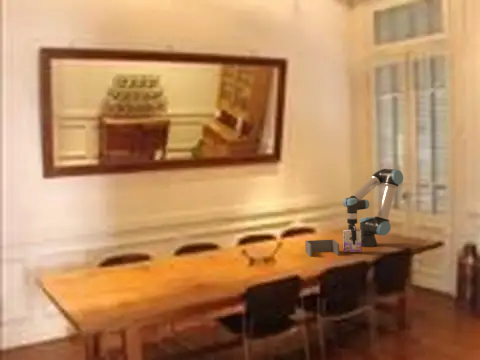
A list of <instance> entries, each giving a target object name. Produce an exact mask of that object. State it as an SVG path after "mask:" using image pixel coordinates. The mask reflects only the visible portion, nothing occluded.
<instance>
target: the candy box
mask: <svg viewBox="0 0 480 360" xmlns="http://www.w3.org/2000/svg"><path fill="white" fill-rule="evenodd" d="M356 239H357V240H356V249H352V241H351V240H352V232H351V230H348V229H342V241H343V243H342V244H343V245H342V246H343V247H342V250H343V252H346V253H347V252H362V251H363V249H362V247H363V246H362V239H361V229H360V228H359V229H356Z"/></svg>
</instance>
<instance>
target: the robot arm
mask: <svg viewBox="0 0 480 360" xmlns="http://www.w3.org/2000/svg"><path fill="white" fill-rule="evenodd" d="M403 181H404V174H403V172H402V171H401V170H400V169H395V168H394V169H391V168H382V169H380V170H378V171H376V172H374V173H373V174H372V175H370V178H369V179H368V180H367V181H366V182H365V183H363V185H361V186H360V187H359V188H358V190H356V191H355V192H354V193H352V194H351V195H350V196H349V197H345V198H344V199H343V200H342V205H343V206H344V207H345V208H347V210H346V217H347V219H346V221H347V222H346V223H347V224H348V226H347V227H348V229H347V230H351V232H352V240H351V241H352V249H356V240H357V239H356V230H357V227H356V224H358V211H359V210H360V211H362V210H367V209H369V207H370V201H369V200H368V199H364V198H365V197H366V196H367V195H368V194H369V193H370V192H371V191H372V190H374V189H375V188H376V187H377V186H380V185H382V184H383V186H384V188H383V191H382V192H383V193H382V195H381V200H380V203H379V208H378V212H377V214H376V215H375V216H366V217H364V216H363V217H361V218H360V221H359V230H360V229H361V239H362V247H363V246H365V248H366V247H367V248H371V247H370V246H373V247H376V246H375V245H378V242H377V239H376V235H378V236H386V235H388V234H389V232H390V231H391V228H392V227H391V223H390V219H389V215H390V212H391V207H392V203H393V200H394V195H395V192H396V190H397V189H398V188H399V185H401V184H402V183H403Z"/></svg>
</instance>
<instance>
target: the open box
mask: <svg viewBox="0 0 480 360" xmlns="http://www.w3.org/2000/svg"><path fill="white" fill-rule="evenodd" d="M304 244H305V247H304V248H305V253H306V254H307V255H308V256H309V258H310V257H311V258H312V257H313V253H317V252H318V253H319V252H333V253H334V254H335V255H336V254H337V255H336V256H340V243H339V242H338V241H336V240H335V239H315V240H314V239H313V240H311V239H309V240H305V242H304Z"/></svg>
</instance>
